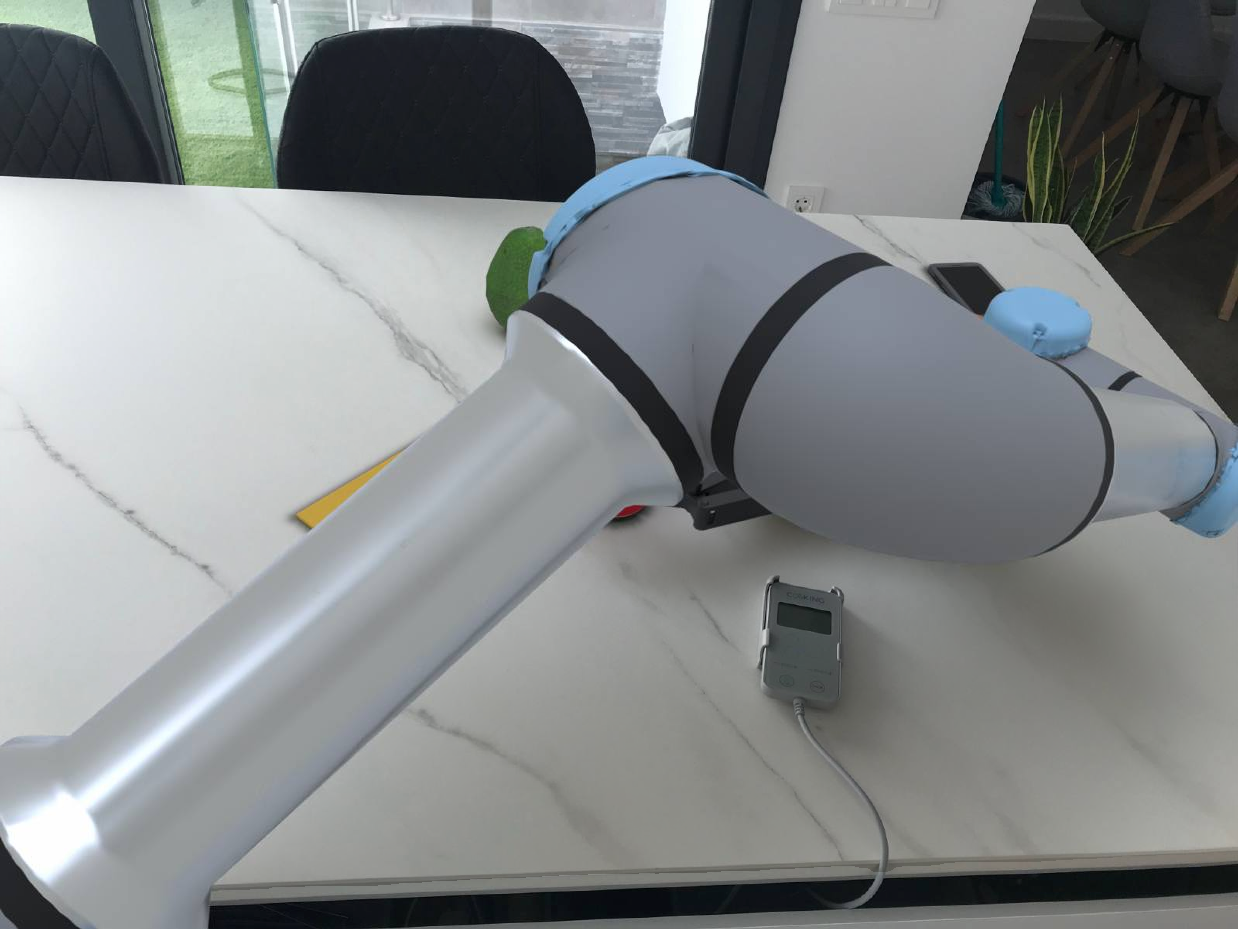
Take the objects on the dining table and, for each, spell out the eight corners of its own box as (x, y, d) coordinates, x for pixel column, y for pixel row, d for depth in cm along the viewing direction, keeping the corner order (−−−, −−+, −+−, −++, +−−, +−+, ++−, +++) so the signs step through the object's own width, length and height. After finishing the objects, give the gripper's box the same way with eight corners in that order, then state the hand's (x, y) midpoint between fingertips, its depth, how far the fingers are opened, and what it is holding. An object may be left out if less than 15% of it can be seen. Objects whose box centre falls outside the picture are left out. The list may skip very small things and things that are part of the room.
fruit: (572, 325, 109) (576, 226, 101) (528, 356, 104) (530, 255, 96) (516, 300, 112) (516, 203, 104) (471, 330, 107) (468, 229, 99)
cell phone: (975, 327, 114) (977, 322, 114) (925, 268, 125) (927, 262, 124) (1031, 325, 116) (1033, 319, 115) (977, 266, 126) (979, 261, 126)
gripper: (869, 593, 75) (595, 564, 75) (837, 400, 94) (618, 377, 94) (894, 523, 70) (600, 493, 70) (855, 334, 89) (624, 310, 89)
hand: (610, 426), depth 82 cm, fingers open, 13 cm apart
